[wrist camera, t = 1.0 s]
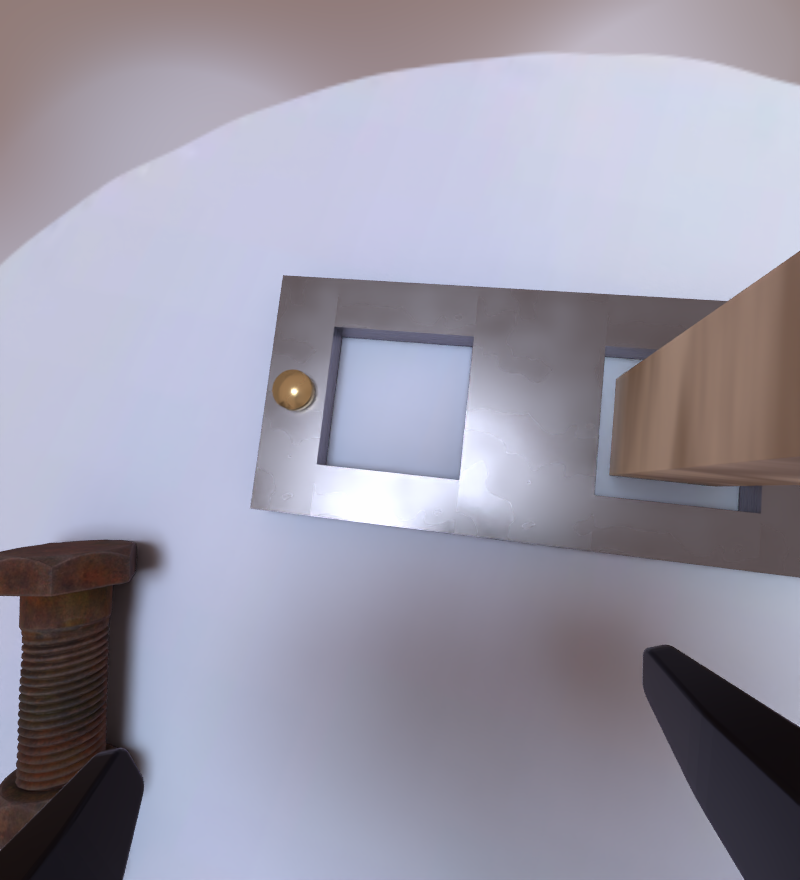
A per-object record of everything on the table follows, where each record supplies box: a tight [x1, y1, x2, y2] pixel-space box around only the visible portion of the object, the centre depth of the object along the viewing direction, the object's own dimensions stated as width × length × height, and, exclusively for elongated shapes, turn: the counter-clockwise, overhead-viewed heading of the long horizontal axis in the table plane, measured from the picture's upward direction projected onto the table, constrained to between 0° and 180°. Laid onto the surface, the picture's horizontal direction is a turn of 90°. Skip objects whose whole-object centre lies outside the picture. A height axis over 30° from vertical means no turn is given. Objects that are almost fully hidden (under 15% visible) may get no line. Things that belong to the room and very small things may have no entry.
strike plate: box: [250, 275, 800, 577], centre depth 21 cm, size 24×11×2 cm, turn 83°
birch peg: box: [609, 251, 800, 486], centre depth 15 cm, size 4×4×13 cm
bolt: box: [0, 540, 137, 849], centre depth 21 cm, size 6×5×15 cm
